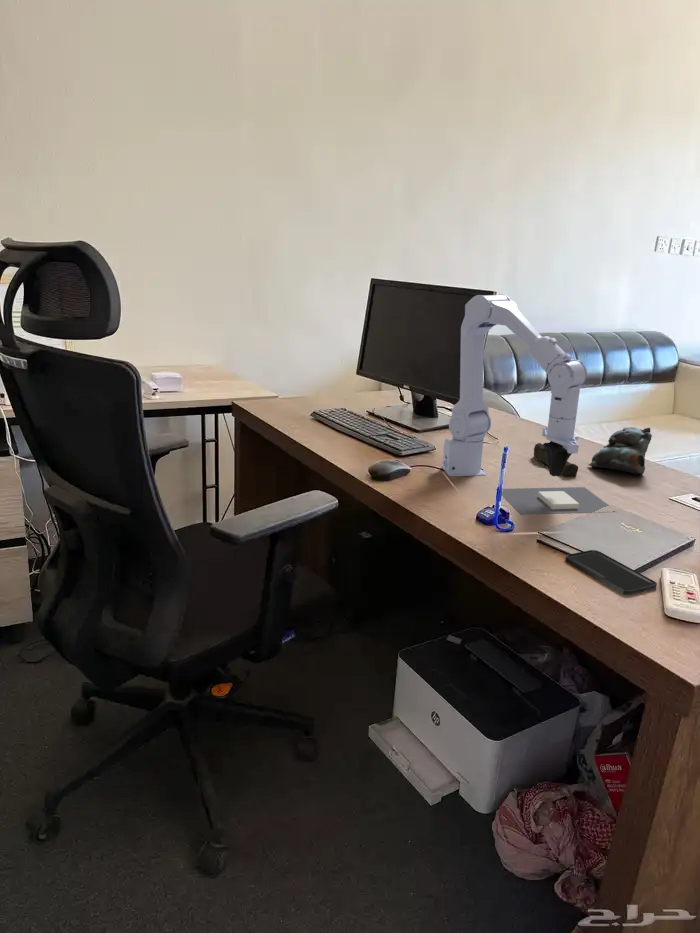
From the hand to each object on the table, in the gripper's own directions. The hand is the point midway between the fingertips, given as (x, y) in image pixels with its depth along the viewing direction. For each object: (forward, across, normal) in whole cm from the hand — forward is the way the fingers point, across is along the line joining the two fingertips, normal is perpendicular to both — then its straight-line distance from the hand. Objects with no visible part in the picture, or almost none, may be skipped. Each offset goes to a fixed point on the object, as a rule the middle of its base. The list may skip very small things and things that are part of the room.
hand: (555, 475), depth 152 cm
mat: (+6, -1, 0) cm, 6 cm away
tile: (+5, +1, 0) cm, 5 cm away
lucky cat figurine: (+6, +20, -26) cm, 34 cm away
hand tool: (+6, +24, -10) cm, 26 cm away
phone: (+6, -36, +5) cm, 37 cm away
